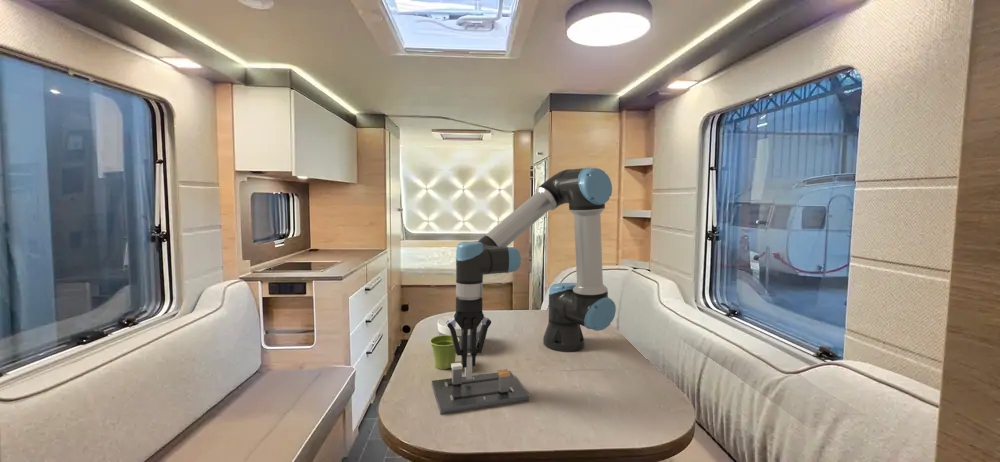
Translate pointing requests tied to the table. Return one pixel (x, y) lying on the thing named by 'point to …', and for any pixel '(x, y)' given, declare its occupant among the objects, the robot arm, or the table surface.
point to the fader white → (456, 373)
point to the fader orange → (503, 380)
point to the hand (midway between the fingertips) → (468, 377)
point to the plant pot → (443, 351)
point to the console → (476, 393)
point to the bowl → (445, 330)
